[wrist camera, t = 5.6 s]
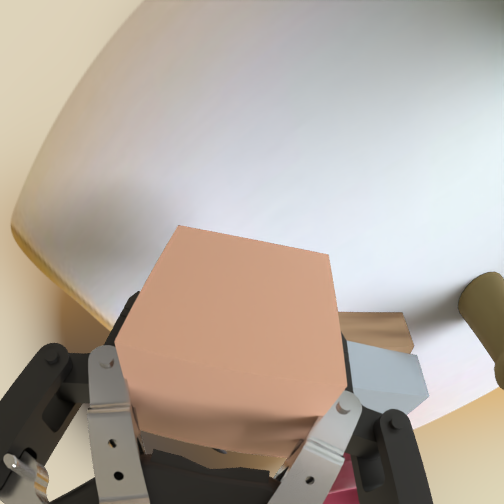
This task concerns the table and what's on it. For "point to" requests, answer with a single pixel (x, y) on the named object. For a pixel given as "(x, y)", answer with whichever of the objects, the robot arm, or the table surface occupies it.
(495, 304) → the cork
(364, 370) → the top block
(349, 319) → the bottom block
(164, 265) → the cube
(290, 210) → the table surface
